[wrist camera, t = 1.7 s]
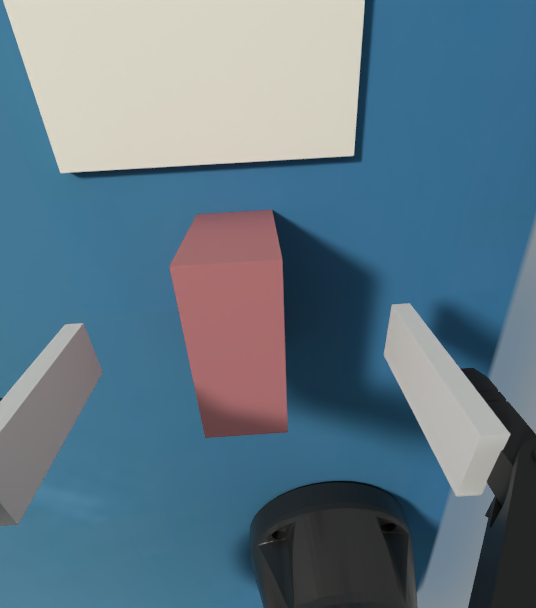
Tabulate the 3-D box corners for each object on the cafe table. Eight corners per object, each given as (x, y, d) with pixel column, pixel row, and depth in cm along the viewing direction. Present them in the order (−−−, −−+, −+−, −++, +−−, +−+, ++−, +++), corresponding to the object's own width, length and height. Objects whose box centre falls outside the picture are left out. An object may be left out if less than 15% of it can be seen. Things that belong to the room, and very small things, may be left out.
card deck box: (278, 345, 23) (287, 432, 17) (217, 349, 23) (205, 437, 17) (272, 209, 18) (282, 259, 12) (197, 213, 18) (169, 266, 12)
